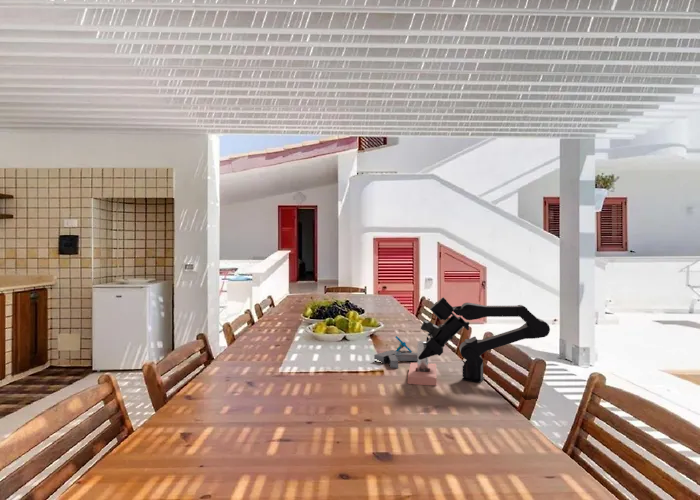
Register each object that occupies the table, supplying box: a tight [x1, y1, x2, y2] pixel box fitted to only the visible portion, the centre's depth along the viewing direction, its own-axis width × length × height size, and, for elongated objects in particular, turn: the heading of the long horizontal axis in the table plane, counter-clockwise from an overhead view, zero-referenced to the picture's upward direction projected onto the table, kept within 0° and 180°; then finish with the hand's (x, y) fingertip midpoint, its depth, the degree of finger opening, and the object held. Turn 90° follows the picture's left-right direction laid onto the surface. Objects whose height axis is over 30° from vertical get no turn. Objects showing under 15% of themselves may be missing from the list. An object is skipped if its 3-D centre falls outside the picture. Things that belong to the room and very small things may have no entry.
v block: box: [373, 349, 417, 369], centre depth 189 cm, size 13×18×3 cm
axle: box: [416, 340, 429, 372], centre depth 167 cm, size 4×4×13 cm
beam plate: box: [407, 362, 437, 386], centre depth 167 cm, size 20×10×2 cm, turn 169°
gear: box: [395, 335, 413, 353], centre depth 207 cm, size 11×6×10 cm
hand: (419, 357), depth 168 cm, fingers closed on axle, 4 cm apart
